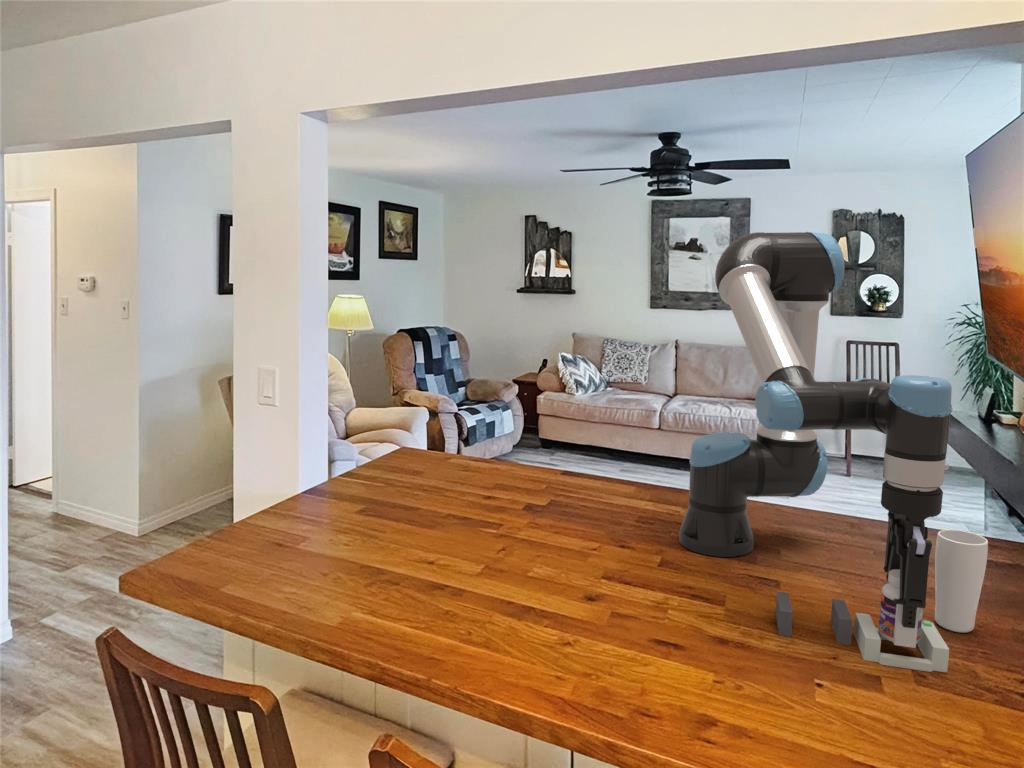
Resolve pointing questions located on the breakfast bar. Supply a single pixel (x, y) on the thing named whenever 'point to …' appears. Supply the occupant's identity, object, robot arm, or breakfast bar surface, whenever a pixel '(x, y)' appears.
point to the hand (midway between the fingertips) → (899, 634)
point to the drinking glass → (958, 578)
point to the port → (928, 645)
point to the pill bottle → (892, 607)
